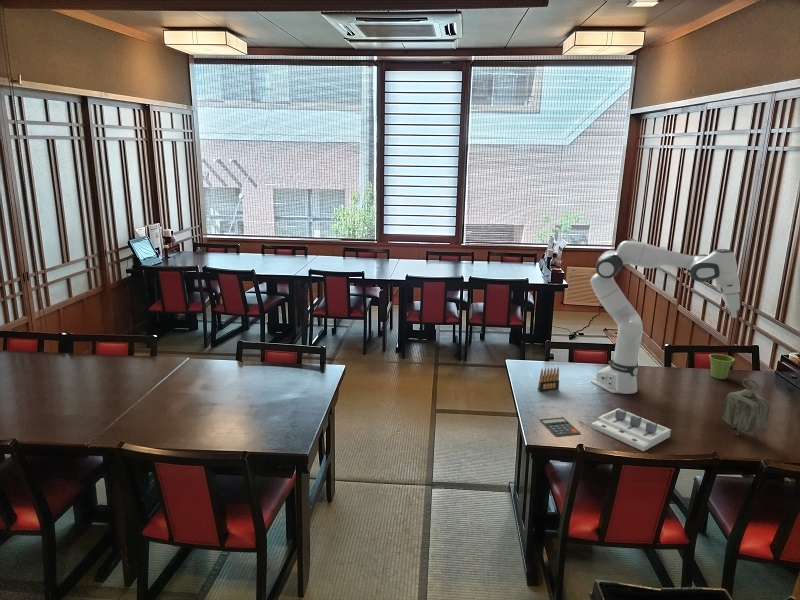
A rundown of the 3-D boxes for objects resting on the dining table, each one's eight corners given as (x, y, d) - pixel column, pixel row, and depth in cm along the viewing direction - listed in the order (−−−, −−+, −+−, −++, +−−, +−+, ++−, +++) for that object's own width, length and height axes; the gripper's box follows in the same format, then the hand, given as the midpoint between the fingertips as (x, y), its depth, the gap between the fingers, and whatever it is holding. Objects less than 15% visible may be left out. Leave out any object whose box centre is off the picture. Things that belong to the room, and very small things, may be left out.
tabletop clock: (764, 441, 220) (775, 385, 213) (748, 444, 217) (759, 388, 210) (732, 425, 233) (742, 372, 226) (717, 428, 230) (726, 374, 224)
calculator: (555, 435, 221) (539, 419, 235) (555, 437, 221) (539, 420, 235) (581, 433, 223) (563, 416, 238) (580, 435, 224) (563, 418, 238)
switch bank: (591, 427, 229) (591, 419, 228) (617, 415, 241) (618, 408, 240) (643, 451, 211) (644, 443, 210) (669, 437, 222) (670, 429, 221)
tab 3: (645, 430, 222) (646, 422, 221) (649, 428, 224) (650, 420, 223) (652, 433, 219) (653, 425, 218) (656, 431, 221) (657, 422, 220)
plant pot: (726, 374, 290) (730, 354, 287) (734, 382, 279) (738, 362, 276) (702, 371, 293) (706, 352, 290) (709, 380, 281) (713, 360, 279)
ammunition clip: (556, 388, 269) (558, 366, 266) (558, 389, 267) (560, 367, 264) (537, 390, 266) (539, 367, 263) (539, 391, 264) (541, 369, 261)
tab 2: (629, 424, 227) (630, 415, 226) (633, 422, 229) (635, 413, 228) (636, 427, 225) (637, 418, 224) (640, 425, 227) (641, 416, 226)
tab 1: (615, 418, 233) (616, 409, 232) (619, 416, 235) (620, 407, 234) (621, 420, 230) (622, 412, 229) (625, 418, 232) (626, 410, 231)
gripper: (715, 280, 245) (720, 308, 248) (723, 291, 227) (728, 322, 230) (731, 278, 243) (735, 306, 245) (740, 289, 225) (745, 320, 227)
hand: (732, 314), depth 237 cm, fingers open, 8 cm apart
